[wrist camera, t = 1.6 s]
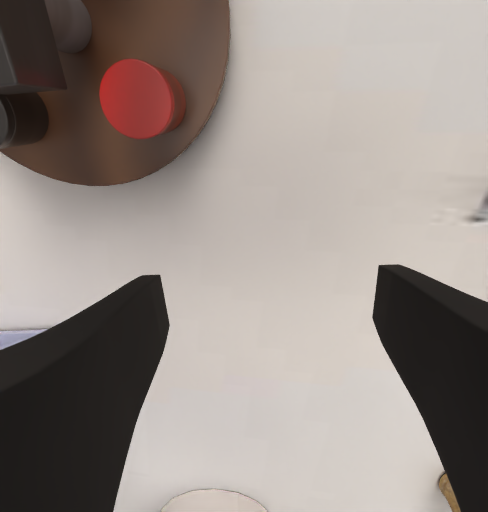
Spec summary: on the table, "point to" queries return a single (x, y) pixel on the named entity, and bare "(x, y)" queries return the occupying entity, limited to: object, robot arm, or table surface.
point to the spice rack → (108, 83)
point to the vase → (212, 502)
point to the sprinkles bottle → (448, 493)
